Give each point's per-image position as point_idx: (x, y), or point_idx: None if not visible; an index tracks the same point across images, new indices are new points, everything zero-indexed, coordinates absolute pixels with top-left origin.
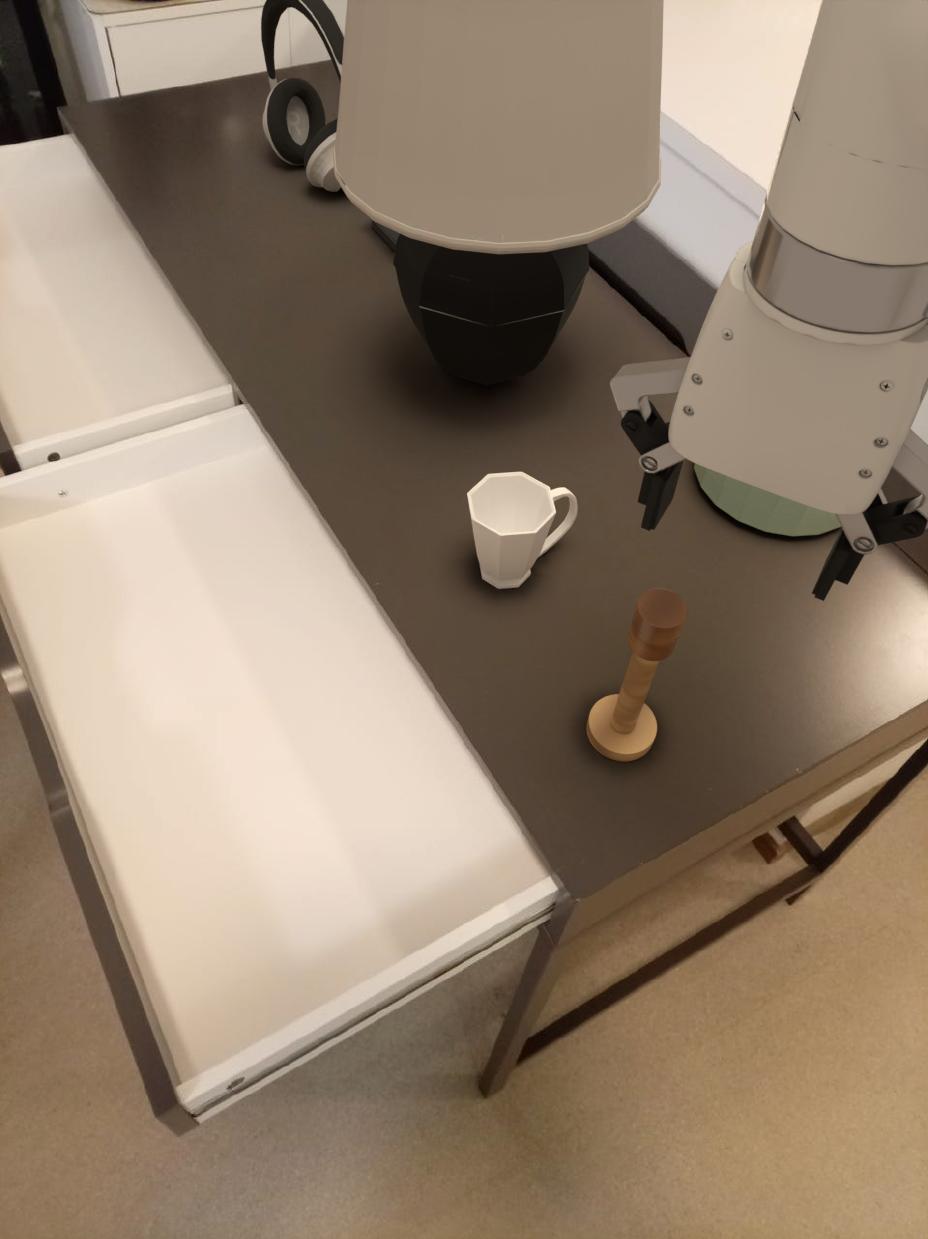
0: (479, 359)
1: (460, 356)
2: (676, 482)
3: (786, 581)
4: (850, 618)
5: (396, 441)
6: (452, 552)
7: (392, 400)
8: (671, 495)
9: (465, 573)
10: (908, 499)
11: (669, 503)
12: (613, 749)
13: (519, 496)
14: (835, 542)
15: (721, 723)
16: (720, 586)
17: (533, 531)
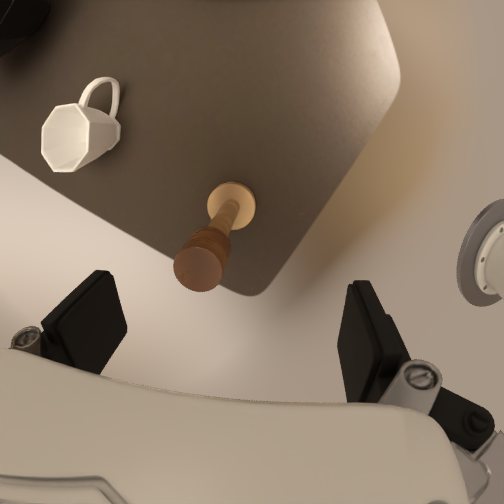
0: (11, 42)
1: (4, 49)
2: (94, 297)
3: (289, 21)
4: (344, 34)
5: (21, 100)
6: None
7: (9, 79)
8: (105, 298)
9: None
10: (461, 442)
11: (113, 287)
12: (234, 228)
13: (70, 111)
14: (356, 329)
15: (292, 162)
16: (245, 48)
17: (86, 152)
